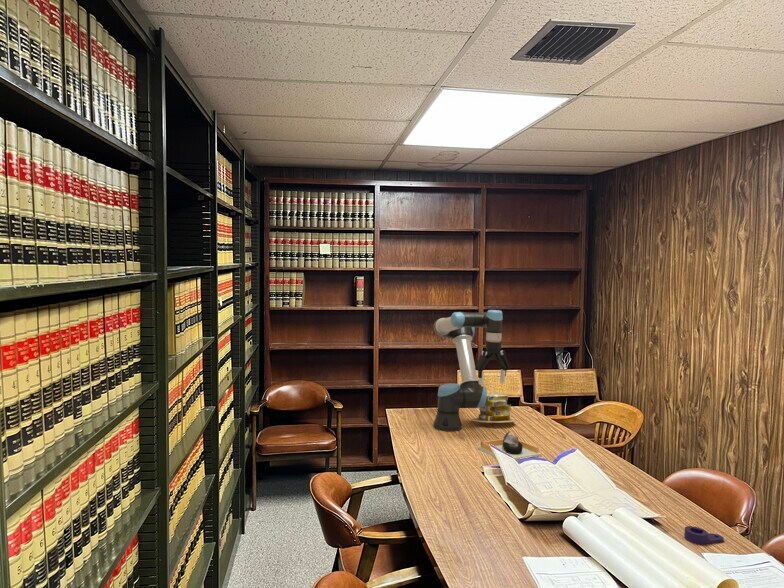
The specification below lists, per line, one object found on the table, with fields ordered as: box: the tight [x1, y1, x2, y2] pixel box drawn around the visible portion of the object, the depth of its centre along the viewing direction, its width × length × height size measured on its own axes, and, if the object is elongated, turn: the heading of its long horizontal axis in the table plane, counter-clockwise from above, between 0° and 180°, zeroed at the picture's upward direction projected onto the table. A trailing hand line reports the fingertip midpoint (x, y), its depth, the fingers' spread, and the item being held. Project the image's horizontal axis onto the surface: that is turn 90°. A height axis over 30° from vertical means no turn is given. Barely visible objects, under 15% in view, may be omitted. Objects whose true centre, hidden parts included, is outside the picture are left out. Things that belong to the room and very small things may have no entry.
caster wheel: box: [502, 430, 523, 454], centre depth 243 cm, size 7×11×10 cm
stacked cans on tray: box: [470, 393, 516, 426], centre depth 297 cm, size 25×25×17 cm
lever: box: [683, 525, 725, 546], centre depth 165 cm, size 12×6×3 cm, turn 96°
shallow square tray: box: [477, 438, 542, 459], centre depth 244 cm, size 20×21×4 cm
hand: (491, 383), depth 261 cm, fingers open, 13 cm apart
